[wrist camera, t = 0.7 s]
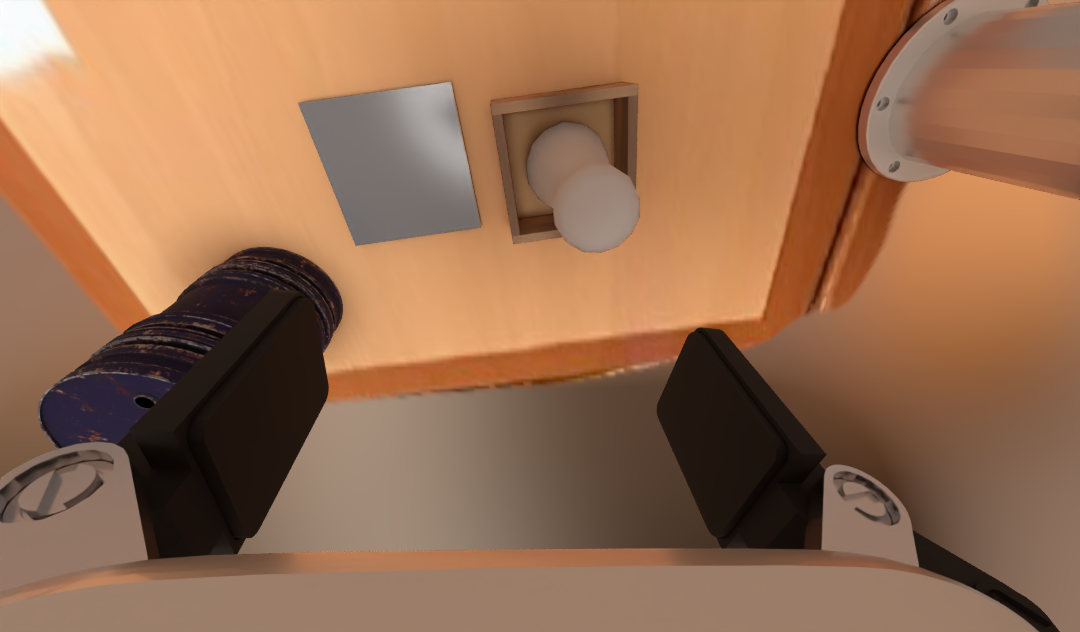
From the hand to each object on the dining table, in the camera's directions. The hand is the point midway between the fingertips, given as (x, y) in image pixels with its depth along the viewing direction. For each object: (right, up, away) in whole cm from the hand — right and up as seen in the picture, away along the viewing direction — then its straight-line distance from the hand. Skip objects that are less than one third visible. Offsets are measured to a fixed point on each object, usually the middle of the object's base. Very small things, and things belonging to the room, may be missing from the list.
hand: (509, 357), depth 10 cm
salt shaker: (+2, +13, +19) cm, 24 cm away
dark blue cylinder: (-21, +3, +23) cm, 32 cm away
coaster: (-9, +12, +19) cm, 24 cm away
